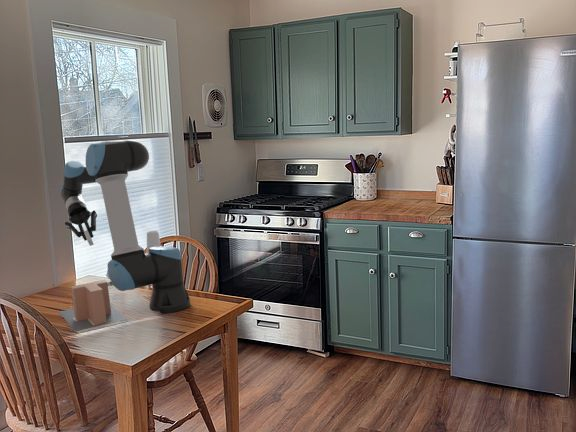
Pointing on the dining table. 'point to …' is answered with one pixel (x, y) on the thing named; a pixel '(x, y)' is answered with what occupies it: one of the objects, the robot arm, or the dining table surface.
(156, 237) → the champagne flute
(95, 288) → the t block
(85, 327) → the slate board
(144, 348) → the dining table surface
